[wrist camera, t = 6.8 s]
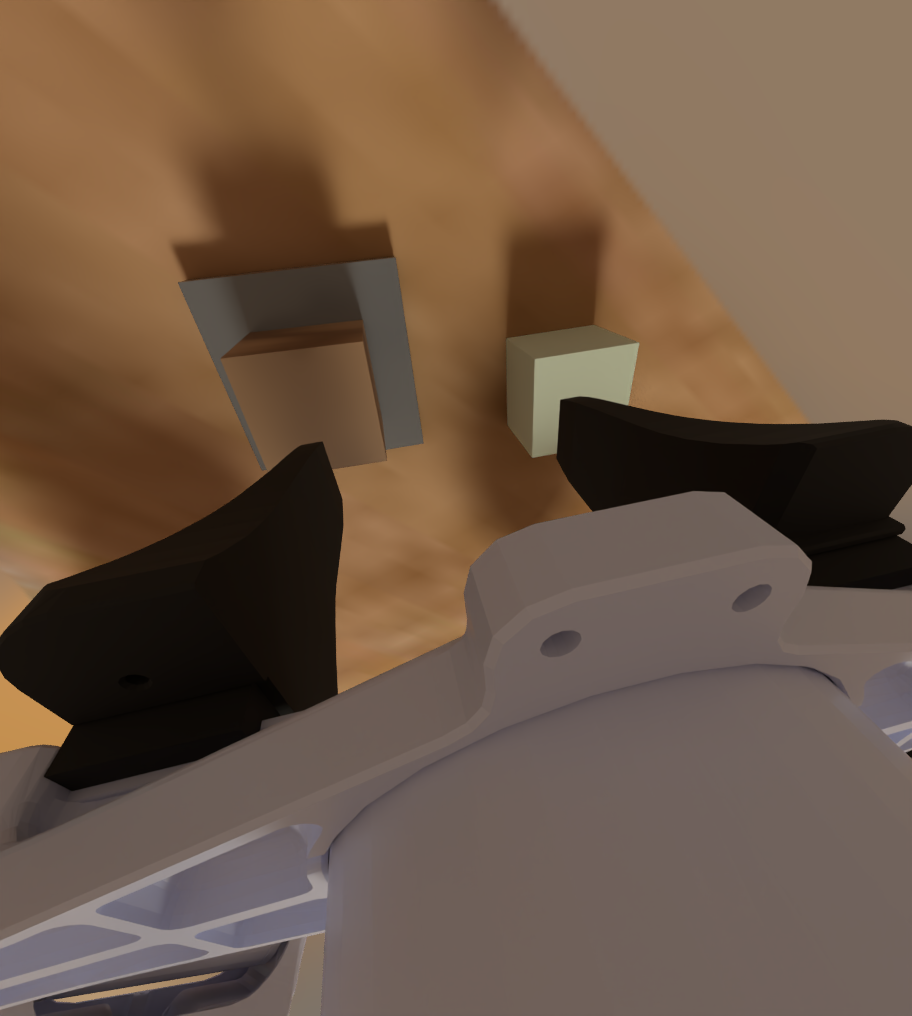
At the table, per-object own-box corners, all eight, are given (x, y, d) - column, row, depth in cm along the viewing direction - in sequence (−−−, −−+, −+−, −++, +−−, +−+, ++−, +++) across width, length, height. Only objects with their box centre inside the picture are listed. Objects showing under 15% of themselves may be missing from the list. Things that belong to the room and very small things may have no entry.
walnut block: (286, 435, 18) (270, 479, 15) (249, 332, 15) (219, 358, 12) (382, 421, 19) (386, 460, 15) (362, 319, 16) (362, 341, 13)
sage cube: (506, 424, 21) (532, 458, 18) (505, 337, 19) (534, 359, 15) (583, 410, 22) (621, 441, 18) (592, 324, 19) (639, 342, 16)
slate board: (266, 460, 20) (262, 470, 19) (187, 280, 15) (177, 282, 14) (421, 435, 20) (423, 443, 20) (393, 256, 16) (395, 257, 15)
